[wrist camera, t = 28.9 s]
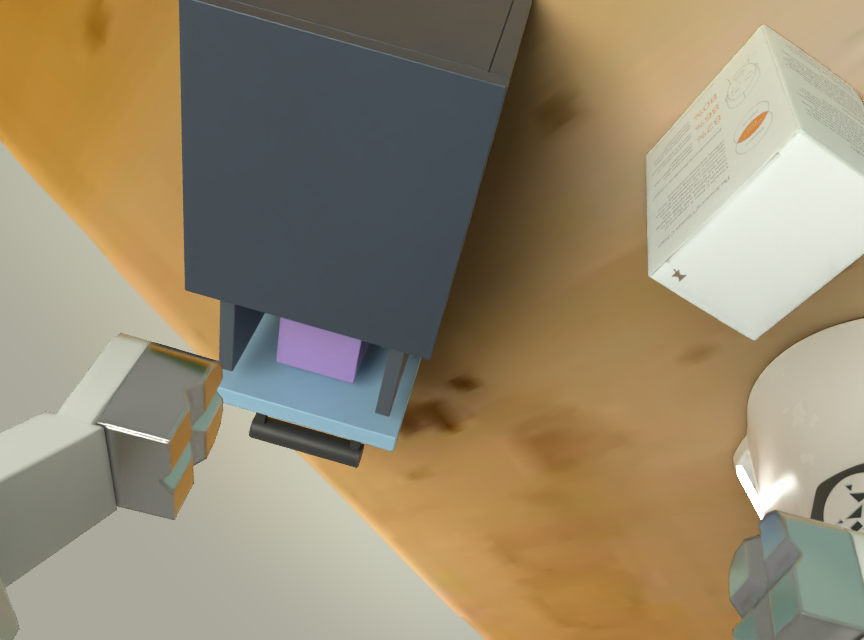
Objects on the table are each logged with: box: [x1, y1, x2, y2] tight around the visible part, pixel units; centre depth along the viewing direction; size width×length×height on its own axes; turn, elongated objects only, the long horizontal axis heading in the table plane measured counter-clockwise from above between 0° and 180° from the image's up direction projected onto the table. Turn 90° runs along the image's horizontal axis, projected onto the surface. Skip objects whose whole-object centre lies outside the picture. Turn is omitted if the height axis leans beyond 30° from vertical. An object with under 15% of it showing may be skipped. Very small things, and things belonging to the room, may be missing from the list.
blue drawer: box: [217, 300, 421, 468], centre depth 44 cm, size 19×11×8 cm, turn 169°
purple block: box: [276, 317, 369, 384], centre depth 44 cm, size 4×4×5 cm
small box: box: [646, 24, 864, 341], centre depth 33 cm, size 8×6×10 cm
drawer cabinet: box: [179, 0, 533, 360], centre depth 36 cm, size 14×12×10 cm
